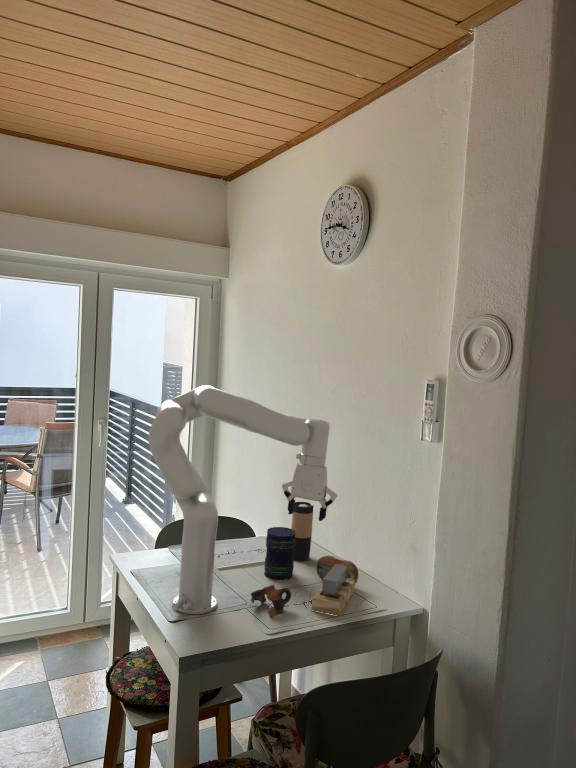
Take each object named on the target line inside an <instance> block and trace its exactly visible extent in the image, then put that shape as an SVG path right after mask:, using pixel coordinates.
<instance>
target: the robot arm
mask: <svg viewBox="0 0 576 768" xmlns="http://www.w3.org/2000/svg"><path fill="white" fill-rule="evenodd" d="M203 416H204V417H206V418H210V419H213V420H216V421H217V422H218V421H219V422H222V423H225V424H228V425H231V426H234V427H237V428H240V429H242V430H245V431H248V432H250V433H254V434H259V435H261V436H264V437H266V438H270V439H273V440H274V441H275V440H276V441H279V442H282V443H285V444H287V445H291V446H295V447H297V446H298V447H299V446H301V452H300V454H298V453H297V454H296V456H295V458H296V459H298V460H299V462H297V463H296V465H295V468H294V474H293V478H292V481H288V482H286V483H282V484H281V487H282V488H281V489H282V490H283V495H285V497H286V499H287V501H288V502H287V504H288V505H287V512H288V515H292V513H294V508H295V502H296V499H295V498H300V499H304V500H308V501H312V502H313V501H314V502H319V504H320V505H321V507H320V508H319V515H318V521H319V522H322V521H323V520H324V519H326V517H327V509H328V507H329V506H330V505H331V504H334V501H335V500H337V497H338V494H337V493H336V492H334V490H332V489H331V488H330V487H328V467H327V466H326V459H327V451H328V442H329V435H330V434H329V433H330V423H329V422H328V421H326V420H322V419H316V418H315V419H314V418H312V419H311V418H310V419H308V418H301V417H297V416H292V415H286V414H283V413H279V412H277V411H275V410H272V409H270V408H268V407H265V406H264V405H262V404H260V403H258V402H256V401H253V400H251V399H248V398H245V397H243V396H242V397H241V396H238V395H236V394H233V393H230V392H227V391H224V390H222V389H220V388H219V389H218V388H215V386H212V385H201V386H198V387H196V388H194V389H191V390H189V391H186V392H184V393H182V394H179V395H178V396H175V397H172V398H170V399H168V400H165V401H163V403H161V404H160V405H159V406H158V408H157V409H156V412H155V417H154V420H153V422H152V424H151V426H150V428H149V432H148V440H147V441H148V446H149V450H150V453H151V455H152V457H153V459H154V461H155V463H156V465H157V467H158V470H159V471H160V474H161V476H162V477H163V479H164V481H165V484H166V486H167V489H168V490H169V492H170V493H171V494H172V495H173V497H174V498H175V501H176V502H177V504H178V506H179V509H181V511H182V516H183V529H182V538H181V539H182V541H181V550H180V551H181V552H180V553H181V556H180V571H179V584H178V585H179V589H178V595H177V596H176V597H174V599H173V600H172V605H171V608H172V610H174V611H177V612H179V613H183V614H187V615H203V614H207V613H209V612H212V611H214V610H215V609H216V607H217V605H218V604H217V603H218V601H217V599H216V598H215V597H214V596H213V584H214V569H215V551H216V539H217V531H218V524H219V513H218V509H217V506H216V504H215V502H214V500H213V498H212V496H211V495H210V493H209V491H208V489H207V487H206V485H205V483H204V480H203V479H202V477H201V476H200V473H199V471H198V470H197V467H196V466H195V465H194V464H193V462H191V461H190V459H189V456H188V455H187V452H186V451H185V449H184V447H183V445H182V443H181V438H180V437H181V433H182V432H183V430H184V429H185V428H186V427H187V423H190V422H193V421H194V420H196V419H199V418H201V417H203ZM289 487H290V488H291V489H290V490H289ZM327 494H328V495H329V497H330V498H329V499H328V500H327V499H326V496H327Z"/></svg>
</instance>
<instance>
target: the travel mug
mask: <svg viewBox="0 0 576 768" xmlns="http://www.w3.org/2000/svg"><path fill="white" fill-rule="evenodd" d="M313 519H314V505H312V504H311V503H310V502H309V501H308V502H307V501H295V508H294V513H292V514H291V528H290V529H293V530H294V531H295V532H296V535H295V549H294V554H293V559H294V562H307V561H309V560H310V553H311V545H312V544H311V543H312V535H313V534H312V533H313V521H314V520H313Z"/></svg>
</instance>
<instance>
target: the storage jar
mask: <svg viewBox="0 0 576 768" xmlns="http://www.w3.org/2000/svg"><path fill="white" fill-rule="evenodd" d="M266 532H267V534H266V539H265V542H266V543H265V547H266V553H265V555H266V556H265V558H264V567H263V568H264V572H263V575H264V577H265V578H267V579H269V580H274V581H279V580H282V581H287V580H291V579H292V578H293V577H292V576H293V573H294V566H295V565H294V563H295V560H294V559H293V554H294V549H295V535H296V532H295V531H294V530H293V529H291V528H289V527H285V526H284V527H283V526H274V527H269V528H268V529H267V530H266ZM290 578H291V579H290Z"/></svg>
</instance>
